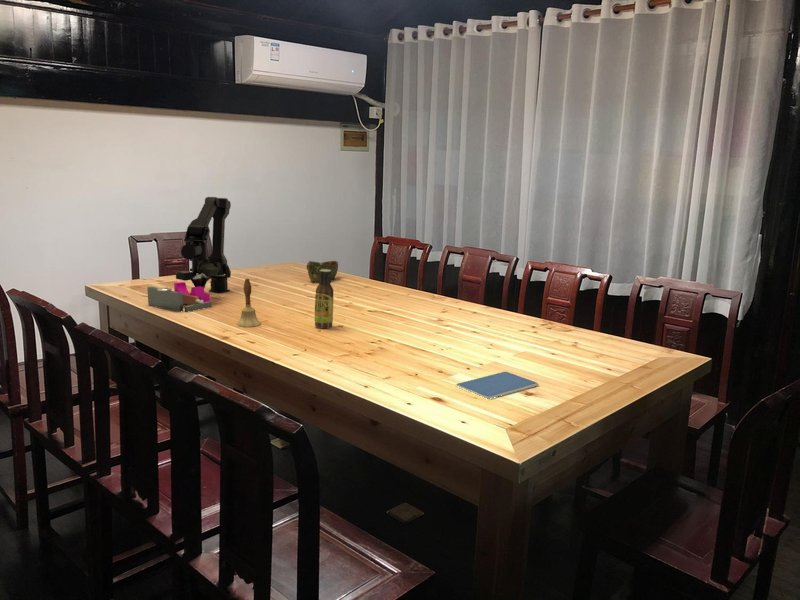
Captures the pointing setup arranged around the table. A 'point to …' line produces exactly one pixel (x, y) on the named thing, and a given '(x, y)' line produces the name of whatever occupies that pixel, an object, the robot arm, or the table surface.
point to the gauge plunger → (191, 299)
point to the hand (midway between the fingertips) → (200, 294)
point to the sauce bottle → (324, 300)
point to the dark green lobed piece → (316, 266)
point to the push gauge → (171, 300)
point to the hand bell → (248, 309)
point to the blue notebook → (497, 385)
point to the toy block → (192, 291)
